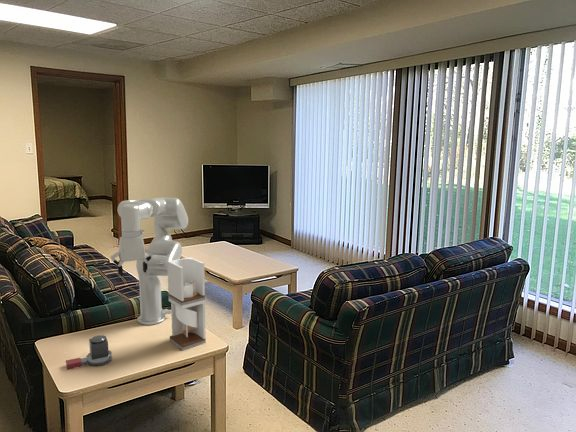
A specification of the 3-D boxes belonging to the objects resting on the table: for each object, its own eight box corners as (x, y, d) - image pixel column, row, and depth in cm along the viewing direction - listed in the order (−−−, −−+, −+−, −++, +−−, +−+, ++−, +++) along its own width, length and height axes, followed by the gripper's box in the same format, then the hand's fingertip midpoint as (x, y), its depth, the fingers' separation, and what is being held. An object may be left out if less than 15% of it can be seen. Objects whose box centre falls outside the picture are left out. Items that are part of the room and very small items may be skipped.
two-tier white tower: (169, 340, 195) (167, 261, 189) (191, 333, 202) (190, 257, 196) (183, 350, 187) (180, 267, 180) (205, 342, 194) (204, 263, 187)
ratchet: (109, 353, 183) (109, 340, 182) (113, 362, 176) (113, 349, 175) (65, 362, 175) (64, 348, 174) (67, 373, 168) (66, 358, 167)
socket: (106, 349, 181) (105, 333, 180) (108, 356, 176) (107, 339, 175) (89, 353, 178) (88, 336, 177) (91, 359, 173) (90, 343, 172)
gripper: (150, 230, 198) (151, 268, 202) (107, 234, 190) (110, 273, 193) (154, 233, 192) (155, 272, 195) (110, 237, 184) (113, 278, 187)
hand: (133, 273), depth 194 cm, fingers open, 9 cm apart
